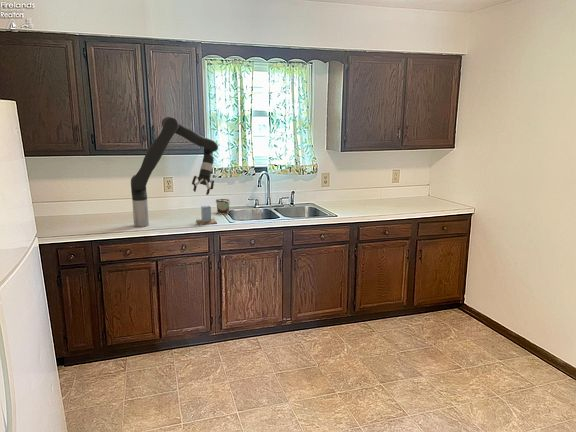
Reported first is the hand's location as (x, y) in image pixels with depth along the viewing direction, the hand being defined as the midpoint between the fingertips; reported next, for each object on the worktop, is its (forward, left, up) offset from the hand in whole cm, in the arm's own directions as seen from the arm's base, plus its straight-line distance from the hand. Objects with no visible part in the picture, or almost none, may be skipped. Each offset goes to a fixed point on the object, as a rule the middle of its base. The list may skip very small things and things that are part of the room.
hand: (200, 193), depth 294 cm
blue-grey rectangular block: (+3, -3, -19) cm, 19 cm away
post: (+3, -3, -20) cm, 20 cm away
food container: (+21, +23, -20) cm, 37 cm away
